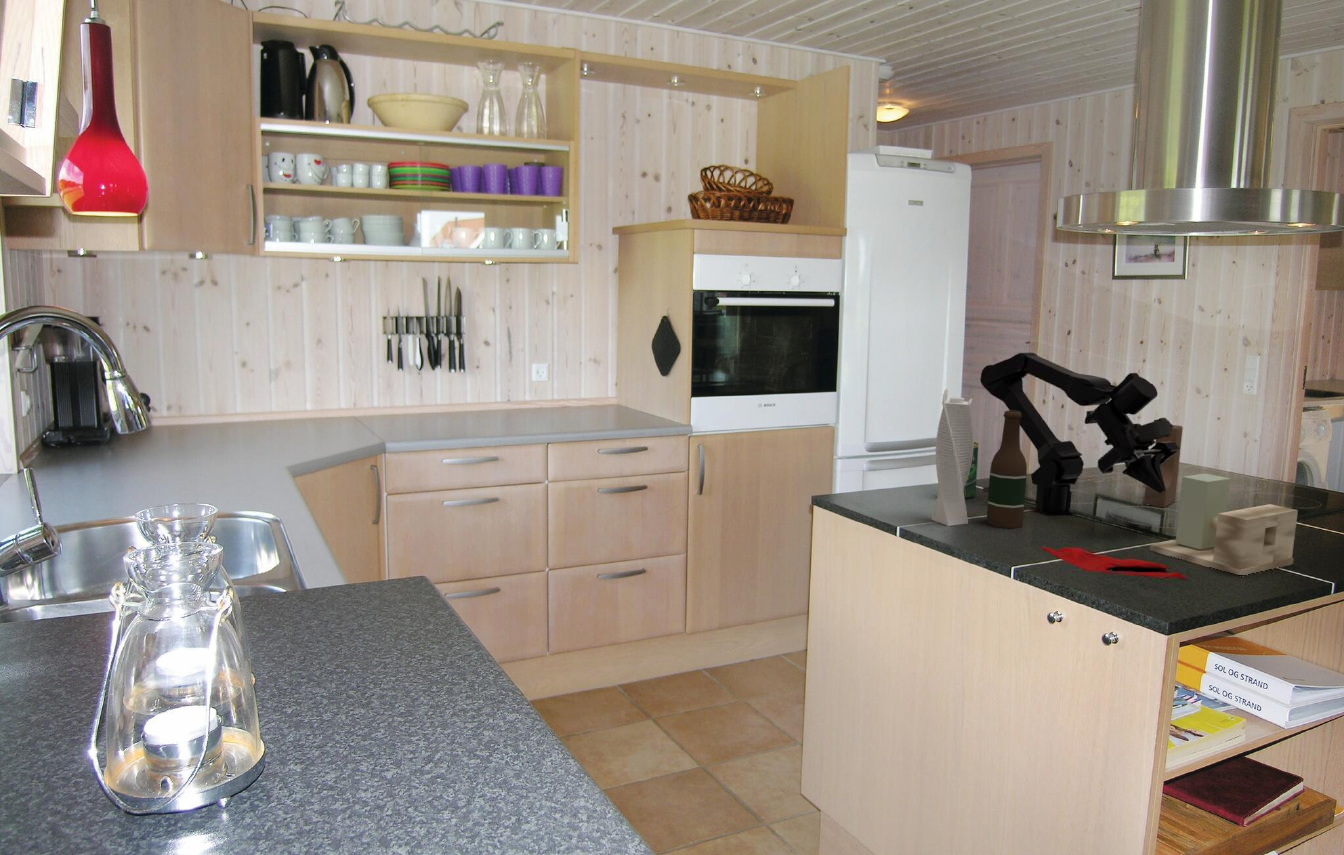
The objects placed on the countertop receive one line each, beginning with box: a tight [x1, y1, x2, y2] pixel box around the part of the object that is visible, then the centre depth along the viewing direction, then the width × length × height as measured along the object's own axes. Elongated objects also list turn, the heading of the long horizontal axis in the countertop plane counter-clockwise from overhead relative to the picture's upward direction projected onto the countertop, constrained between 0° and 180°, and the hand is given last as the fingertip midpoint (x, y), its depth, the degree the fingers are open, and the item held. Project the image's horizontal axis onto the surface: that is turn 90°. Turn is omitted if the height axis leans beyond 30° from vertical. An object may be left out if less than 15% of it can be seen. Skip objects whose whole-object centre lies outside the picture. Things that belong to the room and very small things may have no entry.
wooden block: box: [1143, 424, 1184, 509], centre depth 220 cm, size 9×4×18 cm, turn 138°
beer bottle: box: [986, 409, 1028, 529], centre depth 199 cm, size 8×8×24 cm
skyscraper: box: [931, 388, 975, 527], centre depth 200 cm, size 8×8×28 cm
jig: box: [1149, 503, 1299, 576], centre depth 178 cm, size 18×16×10 cm
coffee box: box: [963, 441, 979, 500], centre depth 222 cm, size 8×3×13 cm, turn 122°
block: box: [1175, 473, 1231, 550], centre depth 180 cm, size 9×7×13 cm
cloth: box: [1040, 546, 1187, 580], centre depth 174 cm, size 26×14×2 cm, turn 34°
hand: (1163, 491), depth 188 cm, fingers closed
